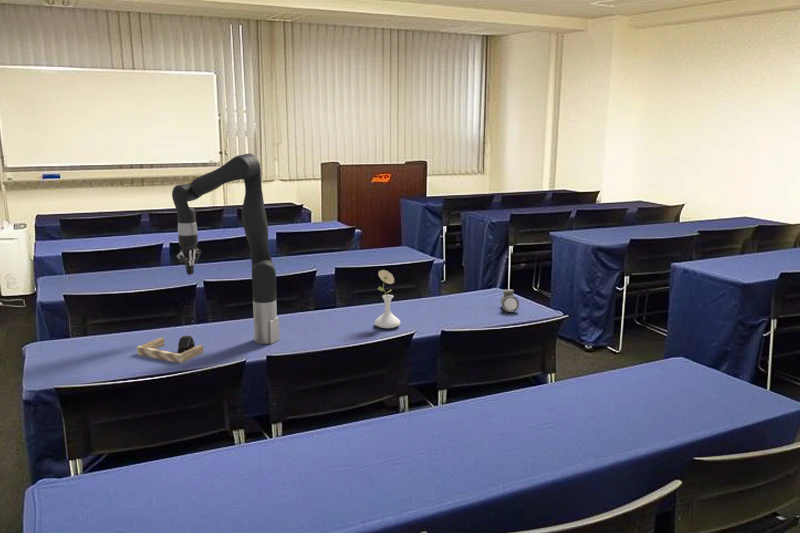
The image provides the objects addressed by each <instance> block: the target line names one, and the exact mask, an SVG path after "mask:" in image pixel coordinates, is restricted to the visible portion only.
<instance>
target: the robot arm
mask: <svg viewBox="0 0 800 533" xmlns="http://www.w3.org/2000/svg"><path fill="white" fill-rule="evenodd" d="M241 180H243V182H244V183H243V184H244V191H245V192H244V199H243V203H242V207H241V218H242V224H243V230H244V233H245V237H246V240H247V243H248V246H249V251H250V259H251V282H252V284H251V285H252V308H253V309H252V312H253V315H252V316H253V336H254V337H253V338H254V343H257V344H259V345H267V344H269V345H271V344H274V343H276V342H278V341H280V339H281V337H280V318H279V317H278V315H277V312H278V311H277V273H276V269H275V268H276V267H275V265H274V263H273V259H272V257H271V256H272V255H271V252H270V248H269V226H268V218H267V213H266V208H265V203H264V202H265V200H264V194H263V187H262V185H263V184H262V172H261V163H260V161H259V159H258V157H257V156H256V155H254V154H253V153H244V154H241V155H240V154H239V155H235V156H234V157H232V158H231V159H230V160H228V161H226V163H224V164H223V165H222V166H220V167H217V168H216V169H215V170H212V171H210V172H207V173H204V174H203V175H201V176H198V177H196V178H194V179H193V180H192V181H191V182H190V183H185V184H177V185H175V186H174V187H173V188H172V192H171V197H172V201H173V205H174V208H175V211H176V212H177V213H176V214H177V234H178V235H177V236H178V237H177V240H178V245H179V246H180V249H179V253H178V254H176V255H175V257H176V259H177V260H178V262H180V264H181V265H182V266H185V270H186V274H187V275H189V276H192V275H194V272H195V269H194V265H195V264H197V263H198V261H199V259H200V257H201V254H202V250H201V249H199V248H198V244H199V239H198V238H199V237H198V225H197V218H196V215H197V214H196V209H195V208H194V207H190V206H189V202H193V201H195V200H198V199H199V198H200V197H202V196H204V195H207V194H208V193H210V192H213V191H215V190H217V189H218V188H219V187H221V186H223V185H226V184H227V183H231V182H235V181H241Z"/></svg>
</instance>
